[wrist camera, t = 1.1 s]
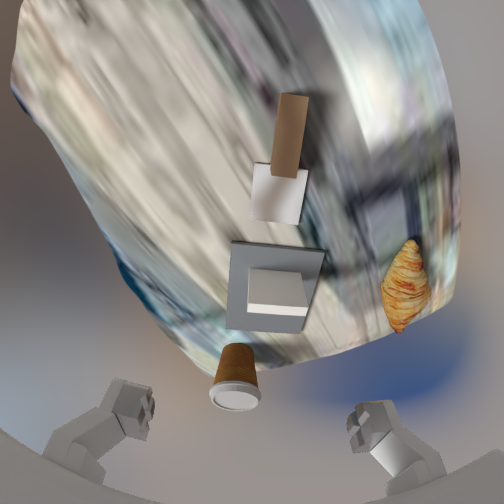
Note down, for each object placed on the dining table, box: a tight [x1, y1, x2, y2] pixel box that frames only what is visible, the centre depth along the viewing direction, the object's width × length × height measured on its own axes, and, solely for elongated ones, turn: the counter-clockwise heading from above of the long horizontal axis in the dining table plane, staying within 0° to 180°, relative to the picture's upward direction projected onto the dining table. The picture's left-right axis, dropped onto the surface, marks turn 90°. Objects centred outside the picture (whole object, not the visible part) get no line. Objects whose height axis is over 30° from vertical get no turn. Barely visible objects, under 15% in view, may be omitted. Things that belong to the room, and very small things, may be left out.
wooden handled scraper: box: [249, 93, 309, 225], centre depth 32 cm, size 7×18×4 cm, turn 174°
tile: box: [247, 268, 308, 316], centre depth 39 cm, size 2×8×8 cm, turn 84°
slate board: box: [226, 241, 325, 334], centre depth 45 cm, size 18×14×1 cm
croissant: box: [381, 239, 431, 333], centre depth 42 cm, size 21×10×8 cm, turn 14°
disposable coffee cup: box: [209, 343, 261, 411], centre depth 49 cm, size 10×10×12 cm
